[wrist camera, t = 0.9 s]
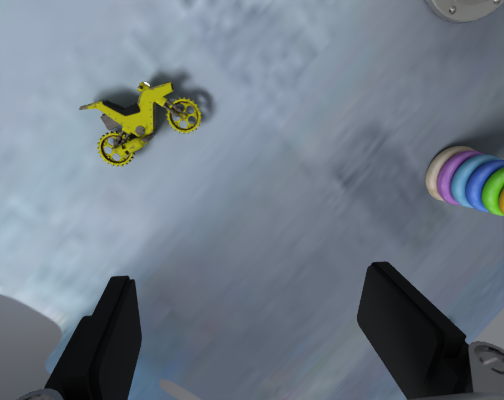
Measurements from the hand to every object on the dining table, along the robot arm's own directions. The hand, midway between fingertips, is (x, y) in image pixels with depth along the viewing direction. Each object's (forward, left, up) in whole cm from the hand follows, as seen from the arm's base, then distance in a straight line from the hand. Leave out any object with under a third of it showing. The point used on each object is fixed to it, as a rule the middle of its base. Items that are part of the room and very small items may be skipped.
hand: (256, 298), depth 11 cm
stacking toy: (-31, +10, -26) cm, 42 cm away
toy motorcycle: (+7, -6, -26) cm, 28 cm away
